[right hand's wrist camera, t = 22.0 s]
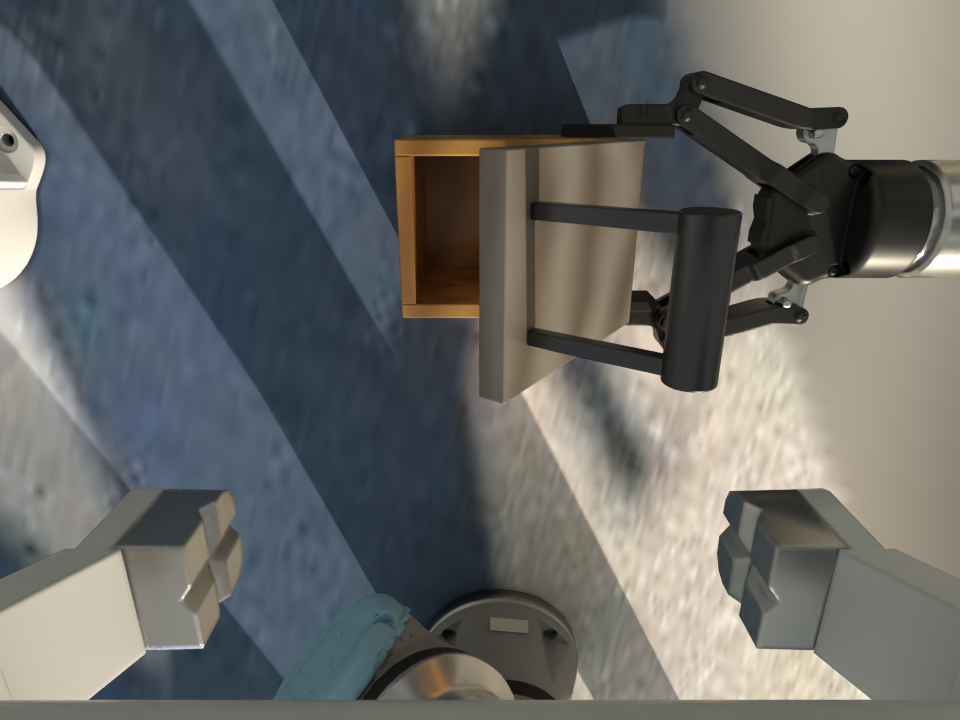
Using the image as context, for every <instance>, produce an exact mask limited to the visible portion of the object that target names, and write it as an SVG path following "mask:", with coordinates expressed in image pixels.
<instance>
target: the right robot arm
mask: <svg viewBox="0 0 960 720" xmlns="http://www.w3.org/2000/svg"><path fill="white" fill-rule="evenodd" d="M9 135H11V136H12V137H13V139H14V144H13V145H12V144H11V143H10V141H9ZM45 160H46V157H45V152H44V149H43V147H42V146H41V144H40V143H39V142H38V141H37V139H36V138H35V137H34V136H33V135H32V134H31V133H30V132H29V131H28V130H27V128H26V127H25V126H24V125H23V124H22V123H21V122H20V121H19V120H18V119H17V117H16V116H15V115H14V114H13V113H12V112H11V111H10V110H9V109H8V108H7V107H6V105H5V104H4V103H3V102H2V101H1V100H0V288H1V287H3V286H5V285H7V284H8V283H10V282H11V281H12V280H13V279H15V278H16V277H17V276H18V275H19V274H20V273H21V272H22V270H23V269H24V268H25V266H26V265H27V263H28V261H29V259H30V257H31V255H32V253H33V250H34V247H35V243H36V238H37V228H38V218H37V207H36V189H37V187H38V184H39V182H40V179H41V176H42V174H43V170H44V167H45ZM236 513H237V511H236V507H235V502H234V497H233V495H232V494H231V493H230V492H229V491H228V490H198V489H136V490H132V491H130V492H129V493H128V494H127V495H126V496H125V497H124V498H123V499H122V500H121V501H120V502H119V503H118V505H117V506H116V507H115V508H114V509H113V510H112V511H111V512H110V513H109V514H108V515H107V516H106V517H105V518H104V519H103V520H102V521H101V522H100V523H99V524H98V525H97V527H96V528H95V529H94V530H93V531H92V532H91V533H90V534H89V535H88V536H87V537H86V538H85V539H84V540H83V541H82V542H81V543H80V544H79V545H78V546H77V547H76V549H64V550H62V551H60V552H57V553H55V554H53V555H51V556H49V557H47V558H45V559H42V560H40V561H38V562H36V563H34V564H32V565H30V566H27V567H25V568H23V569H21V570H19V571H17V572H15V573H12V574H10V575H8V576H6V577H4V578H2V579H0V720H960V579H958V578H956V577H954V576H952V575H949V574H947V573H945V572H943V571H941V570H939V569H937V568H935V567H932V566H930V565H928V564H926V563H924V562H922V561H920V560H917V559H915V558H913V557H911V556H909V555H907V554H905V553H903V552H900V551H898V550H896V549H885V548H884V547H883V546H882V545H881V544H880V543H879V542H878V541H877V540H876V539H875V538H874V537H873V536H872V535H871V534H870V533H869V532H868V531H867V530H866V529H865V527H864V526H863V525H862V524H861V523H860V522H859V521H858V520H857V519H856V518H855V517H854V516H853V515H852V514H851V513H850V512H849V511H848V510H847V509H846V508H845V507H844V505H843V504H842V503H841V502H840V501H839V500H838V499H837V498H836V497H835V496H834V495H833V494H832V493H831V492H830V491H828V490H825V489H823V488H816V489H791V490H757V491H730V492H729V494H728V496H727V498H726V500H725V506H724V511H723V514H724V515H725V517H726V518H727V520H728V522H729V523H730V526H729V527H728V528H727V529H726V530H725V531H724V532H723V533H722V534H721V535H720V536H719V543H718V551H717V557H718V568H719V573H720V576H721V580H722V583H723V585H724V587H725V589H726V591H727V593H728V595H730V596H731V597H733V598H734V599H736V600H737V601H739V602H740V603H741V608H740V614H739V616H740V618H741V620H742V622H743V623H744V625H745V627H746V629H747V631H748V633H749V635H750V637H751V638H752V640H753V642H754V644H755V646H756V648H759V649H795V650H814V653H815V654H816V655H817V656H819V657H820V658H821V659H822V660H824V661H825V662H826V663H827V664H828V665H830V666H831V667H832V668H833V669H835V670H836V671H837V672H838V673H840V674H841V675H842V676H843V677H845V678H846V679H847V680H848V681H850V682H851V683H852V684H853V685H854V686H856V687H857V688H858V689H859V690H861V691H862V692H863V693H864V694H866V695H867V696H868V697H869V698H871V699H872V700H88V699H90V698H91V697H92V696H93V695H95V694H96V693H97V692H98V691H100V690H101V689H102V688H103V687H105V686H106V685H107V684H108V683H109V682H111V681H112V680H113V679H114V678H116V677H117V676H118V675H119V674H121V673H122V672H123V671H124V670H126V669H127V668H128V667H129V666H131V665H132V664H133V663H134V662H136V661H137V660H138V659H139V658H140V657H142V656H143V655H144V654H145V653H146V650H165V649H199V648H204V646H205V644H206V642H207V640H208V639H209V637H210V635H211V633H212V631H213V629H214V627H215V625H216V623H217V622H218V620H219V618H220V616H221V614H220V608H219V603H220V602H221V601H223V600H224V599H226V598H227V597H229V596H230V595H232V593H233V591H234V589H235V587H236V585H237V583H238V580H239V576H240V571H241V567H242V542H241V536H240V535H239V534H238V533H237V532H236V531H235V530H234V529H233V528H232V527H231V526H230V523H231V522H232V520H233V518H234V517H235V515H236Z"/></svg>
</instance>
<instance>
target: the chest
mask: <svg viewBox="0 0 960 720" xmlns="http://www.w3.org/2000/svg"><path fill="white" fill-rule="evenodd" d="M619 139H626V138H617V137H562V136H561V135H411V136H407V137H402V138H398V139H395V140H394V151H395V155H396V156H395V173H396V195H397V216H398V237H399V259H400V280H401V301H402V317H403V318H479V150H480V148H488V147H505V146H521V145H537V144H554V143H570V142H587V141H603V140H619Z"/></svg>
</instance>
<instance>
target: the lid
mask: <svg viewBox="0 0 960 720" xmlns="http://www.w3.org/2000/svg"><path fill="white" fill-rule="evenodd" d="M644 148H645V140H640V139H619V140H603V141H587V142H570V143H554V144H537V145H521V146H505V147H488V148H480V150H479V396H480V397H482V398H485V399H489V400H492V401H496V402H499V403H505V402H507V401H509V400H510V399H512V398H513V397H515V396H516V395H518V394H519V393H521V392H522V391H524V390H526V389H527V388H529V387H530V386H532V385H533V384H535V383H536V382H538V381H539V380H541V379H543V378H544V377H546V376H547V375H549V374H550V373H552V372H553V371H555V370H556V369H558V368H560V367H561V366H563V365H564V364H566V363H567V362H569V361H570V360H572V359H573V358H575V357H580V358H585V359H589V360H594V361H598V362H603V363H607V364H612V365H616V366H621V367H625V368H630V369H635V370H639V371H644V372H648V373H653V374H657V375H661V381H662V382H663V383H664V384H665V385H666V386H668V387H670V388H673V389H676V390H679V391H684V392H694V393H700V392H708V391H711V390H713V389H715V388H716V386H717V384H718V377H719V370H720V363H721V357H722V350H723V343H724V336H725V329H726V322H727V316H728V309H729V302H730V295H731V288H732V282H733V275H734V268H735V261H736V254H737V248H738V241H739V234H740V227H741V220H742V212H740V211H738V210H734V209H727V208H716V207H690V208H683V209H681V210H680V211H679V212H678V211H665V210H652V209H639V204H640V193H641V181H642V170H643V159H644ZM637 230H642V231H652V232H662V233H673V234H676V243H675V252H674V261H673V270H672V279H671V288H670V297H669V306H668V315H667V324H666V333H665V342H664V351H663V353H659V352H654V351H649V350H644V349H639V348H634V347H629V346H624V345H619V344H614V343H609V342H604V341H601V340H603V339H604V338H606V337H607V336H609V335H611V334H612V333H614V332H615V331H617V330H618V329H620V328H621V327H623V326H624V325H626V324H628V323H629V317H630V306H631V294H632V283H633V272H634V261H635V249H636V238H637Z"/></svg>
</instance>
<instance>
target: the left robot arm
mask: <svg viewBox="0 0 960 720" xmlns="http://www.w3.org/2000/svg"><path fill="white" fill-rule="evenodd" d="M702 100H703V101H706V102H709V103H712V104H715V105H718V106H721V107H724V108H727V109H729V110H732V111H735V112H738V113H741V114H744V115H747V116H750V117H752V118H755V119H758V120H761V121H764V122H767V123H770V124H772V125H776V126H779V127H782V128H788V129H797V131H796V135H797V138H798V140H799V141H801V142H804V143H807V144H808V145H809V146H810V148H811V153H810V154H808V155H807V156H805V157H804V158H802V159H801V160H799V161H798V162H796V163H795V164H793V165H792V166H790V167H789V168H787V169H786V168H785V167H784V166H782V165H780V164H778V163H776V162H774V161H772V160H771V159H769V158H768V157H766V156H765V155H763V154H762V153H761V152H759V151H758V150H756V149H755V148H753V147H752V146H751V145H749V144H748V143H746V142H745V141H743V140H742V139H740V138H739V137H738V136H736V135H735V134H733V133H732V132H730V131H729V130H728V129H726V128H725V127H723V126H722V125H720V124H719V123H717V122H716V121H715V120H713V119H712V118H710V117H709V116H707V115H706V114H705V113H703V112H702V111H700V110H699V109H698V107H699V105H700V103H701V101H702ZM847 119H848V112H847V110H846V109H844V108H842V107H828V108H808V107H805V106H802V105H800V104H797V103H794V102H791V101H788V100H786V99H783V98H780V97H777V96H774V95H771V94H769V93H766V92H763V91H760V90H757V89H754V88H752V87H749V86H746V85H743V84H740V83H737V82H735V81H732V80H729V79H726V78H723V77H721V76H718V75H715V74H712V73H709V72H706V71H700V72H695V73H690V74H687V75H685V76H684V77H682V79H681V81H680V88H679V90H678V93H677V95H676V97H675V98H674V100H673V101H671V102H670V103H668V104H626V105H624V106H621V107H619V108H618V111H617V124H562V129H561V136H562V137H617V138H674V134H675V128H677V129H678V130H679V131H681V132H682V133H684V134H685V135H687V136H688V137H690V138H691V139H693V140H694V141H696V142H697V143H699V144H700V145H701V146H703V147H704V148H706V149H707V150H709V151H710V152H712V153H713V154H715V155H716V156H718V157H719V158H720V159H722V160H723V161H725V162H726V163H728V164H729V165H731V166H732V167H734V168H735V169H737V170H738V171H740V172H741V173H742V174H744V175H745V176H746V177H747V178H748V179H749V180H751V181H752V182H754V183H755V184H757V185H758V186H759V187H761V189H760V191H759V193H758V194H755V196H754V202H753V211H754V220H753V222H752V224H751V227H750V229H749V235H748V241H749V242H751V245H750V246H748V247H746V248H744V249H742V250H740V251H739V252H737V254H736V261H735V268H734V275H733V282H732V288H731V293H732V292H734V291H735V290H737V289H739V288H741V287H743V286H745V285H747V284H749V283H750V282H752V281H757V280H762V279H764V278H766V277H768V276H770V275H772V274H774V273H776V272H778V273H780V274H781V275H782V276H783V277H785V278H786V279H787V280H788V281H787V283H786V285H785V286H784V287H783V288H781V289H777V290H774V291H771V292H770V293H769V294H768V298H756V299H751V300H747V301H744V302H740V303H737V304H733V305H730V306H729V309H728V316H727V322H726V329H725V336H724V338H725V337H728V336H732V335H736V334H739V333H743V332H746V331H750V330H753V329H757V328H761V327H764V326H768V325H771V324H784V325H801V324H803V323H805V322H806V321H807V319H808V316H809V314H808V311H807V310H806V309H804V308H803V303H804V299H805V295H806V291H807V287H808V285H809V284H812V283H814V282H816V281H818V280H821V279H824V278H889V277H893V276H897V277H899V278H945V277H946V278H947V277H960V160H916V161H913V162H910V161H906V160H845V159H843V158H841V157H839V156H838V155H836V154H834V148H835V141H836V134H837V128H840V127H842V126H843V125H844V124H845V123H846V122H847ZM669 297H670V292H669V293H667V294H665V295H663V296H662V297H660V298H658V299H656V300H655V299H654V297H653V296H652V295H651V294H650V293H649V292H648V291H632V294H631V306H630V317H629V323H628V324H626V325H648V326H652V328H653V331H654V332H653V335H654V338H655V339H656V340H657V342H658V343H659V344H660V345H661V347H662V348H663V349H664V342H665V333H666V324H667V315H668V306H669ZM577 664H578V658H577V651H576V645H575V640H574V636H573V633H572V630H571V628H570V626H569V625H568V623H567V621H566V620H565V619H564V617H563V616H562V615H561V614H560V613H559V612H558V611H557V610H556V609H554V608H553V607H552V606H550V605H549V604H547V603H546V602H544V601H542V600H540V599H538V598H536V597H533V596H530V595H527V594H524V593H519V592H514V591H504V590H495V591H484V592H479V593H474V594H471V595H468V596H465V597H462V598H460V599H458V600H456V601H454V602H452V603H451V604H449V605H447V606H446V607H445V608H443V609H442V610H441V611H440V612H439V613H438V614H437V615H436V616H435V617H434V618H433V619H432V620H431V622H430V623H429V625H428V627H427V628H426V629H425V628H424V627H423V626H422V625H421V624H420V623H419V622H418V621H417V620H416V619H415V618H414V617H413V616H412V615H411V610H410V609H409V607H407V606H403V605H401V604H400V603H399V602H398V601H396V600H395V599H394V598H393V597H391V596H389V595H387V594H381V593H378V594H372V595H368V596H366V597H363V598H361V599H359V600H358V601H356V602H354V603H353V604H351V605H350V606H348V607H347V608H346V609H345V610H343V611H342V612H341V613H339V614H338V615H337V616H336V617H335V618H334V619H333V620H331V621H330V622H329V623H328V624H327V625H326V626H325V627H324V628H323V629H322V631H321V632H320V633H319V634H318V635H317V636H316V637H315V638H314V639H313V640H312V641H311V643H310V644H309V645H308V646H307V647H306V649H305V650H304V651H303V652H302V654H301V655H300V656H299V658H298V659H297V660H296V662H295V663H294V665H293V666H292V668H291V669H290V671H289V672H288V674H287V675H286V677H285V678H284V680H283V682H282V683H281V685H280V687H279V689H278V691H277V693H276V695H275V697H274V699H273V700H571V698H572V693H573V689H574V684H575V679H576V674H577Z"/></svg>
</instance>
